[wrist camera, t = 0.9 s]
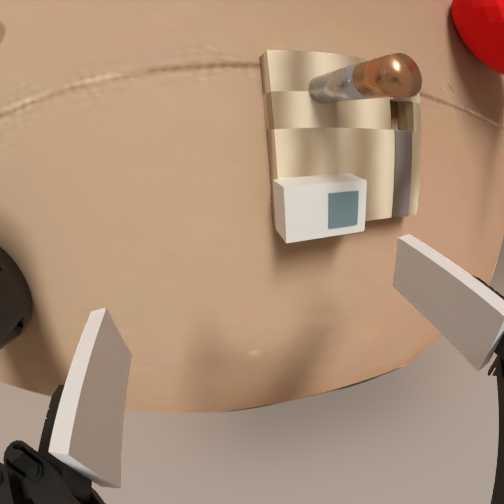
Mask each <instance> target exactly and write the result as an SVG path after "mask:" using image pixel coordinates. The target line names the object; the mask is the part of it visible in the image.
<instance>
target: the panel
mask: <svg viewBox="0 0 504 504" xmlns="http://www.w3.org/2000/svg"><path fill="white" fill-rule="evenodd" d="M368 60H371V59H366V58H360V57H354V56H347V55H340V54H331V53H322V52H310V51H294V50H266V51H265V52H264V53H263V54H262V55H261V56H260V67H261V77H262V88H263V98H264V109H265V121H266V133H267V145H268V157H269V171H270V184H271V199H272V214H273V224H274V225H275V209H274V193H273V179H283V178H293V177H304V176H316V175H329V174H345V173H349V174H352V175H354V176H357V177H360V178H362V179H365V180H367V191H366V213H365V221H370V220H377V219H385V218H397V217H405V216H408V215H415V214H417V206H418V195H419V182H420V162H421V115H420V96H419V93H418V94H417V95H415V96H413V97H394V98H375V99H362V100H351V101H341V102H333V103H325V104H322V103H318V102H316V101H315V100H313V98H312V97H311V96H310V94H309V90H308V86H309V83H310V81H311V80H312V79H313V78H315V77H317V76H320V75H323V74H326V73H329V72H332V71H335V70H338V69H341V68H344V67H347V66H350V65H354V64H357V63H361V62H364V61H368ZM390 101H393V102H397V108H398V130H392V129H391V111H390ZM275 227H276V225H275Z"/></svg>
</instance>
